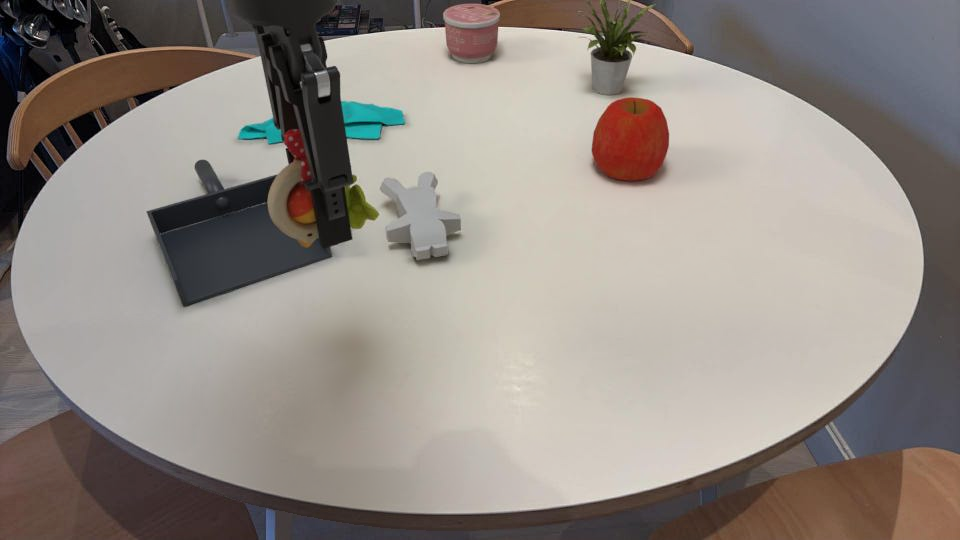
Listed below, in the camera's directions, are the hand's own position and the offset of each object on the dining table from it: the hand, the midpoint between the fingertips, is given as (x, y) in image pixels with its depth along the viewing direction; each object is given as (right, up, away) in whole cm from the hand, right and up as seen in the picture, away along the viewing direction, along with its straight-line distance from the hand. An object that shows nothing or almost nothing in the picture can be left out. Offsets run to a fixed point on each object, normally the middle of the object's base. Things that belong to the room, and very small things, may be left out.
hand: (324, 223), depth 63 cm
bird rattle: (0, -1, 0) cm, 1 cm away
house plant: (+35, +28, +60) cm, 75 cm away
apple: (+36, +11, +39) cm, 54 cm away
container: (+13, +37, +71) cm, 81 cm away
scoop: (-19, +2, +29) cm, 34 cm away
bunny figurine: (+6, +1, +28) cm, 29 cm away
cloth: (-11, +20, +50) cm, 55 cm away
